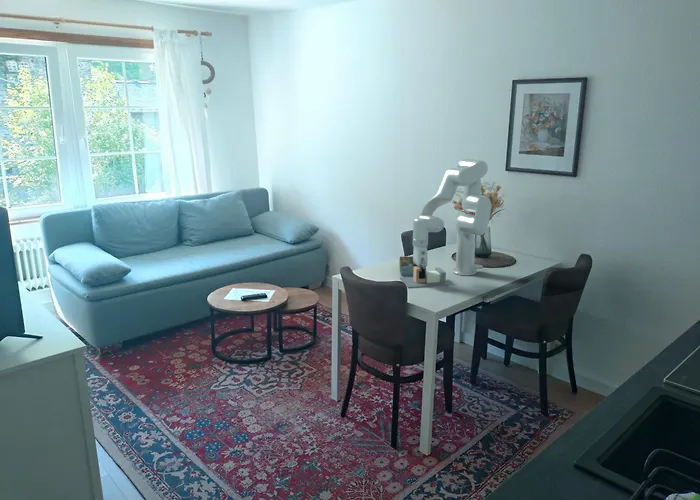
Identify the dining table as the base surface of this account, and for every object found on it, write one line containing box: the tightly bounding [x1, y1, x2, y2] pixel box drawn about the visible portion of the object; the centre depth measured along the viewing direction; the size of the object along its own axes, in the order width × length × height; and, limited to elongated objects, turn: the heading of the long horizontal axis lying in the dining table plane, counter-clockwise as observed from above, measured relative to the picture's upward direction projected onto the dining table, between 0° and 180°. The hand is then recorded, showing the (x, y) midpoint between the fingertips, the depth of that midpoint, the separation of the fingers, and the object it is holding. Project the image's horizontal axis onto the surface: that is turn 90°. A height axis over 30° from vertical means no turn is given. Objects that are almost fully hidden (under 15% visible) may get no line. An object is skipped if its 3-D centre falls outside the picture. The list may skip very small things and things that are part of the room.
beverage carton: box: [399, 256, 414, 277], centre depth 288 cm, size 8×19×7 cm, turn 176°
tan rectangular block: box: [412, 266, 426, 283], centre depth 268 cm, size 5×5×7 cm
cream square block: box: [426, 267, 447, 283], centre depth 270 cm, size 9×9×5 cm
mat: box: [399, 276, 448, 289], centre depth 270 cm, size 20×16×1 cm
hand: (419, 275), depth 268 cm, fingers open, 9 cm apart
